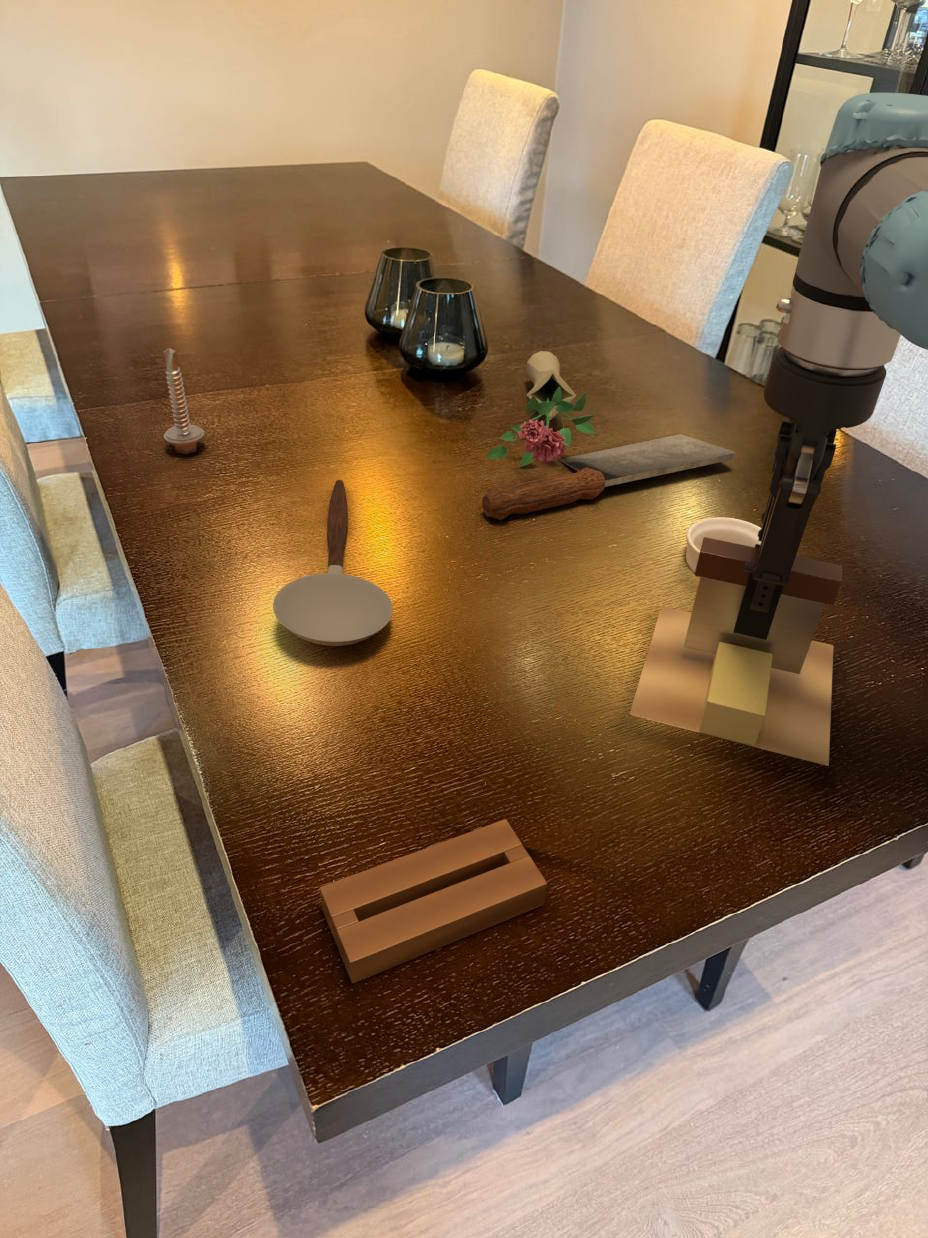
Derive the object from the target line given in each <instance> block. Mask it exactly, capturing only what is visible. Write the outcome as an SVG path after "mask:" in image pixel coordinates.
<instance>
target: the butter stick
mask: <svg viewBox="0 0 928 1238" xmlns="http://www.w3.org/2000/svg"><path fill="white" fill-rule="evenodd" d="M771 664H772V654H770V653H766V652H762V651H757V650H753V649H749V648H745V647H740V646H736V645H732V644H727V643H723V642H719V644H718V648H717V651H716V655H715V659H714V662H713V666H712V670H711V674H710V679H709V684H708V689H707V694H706V699H705V703H704V708H703V713H702V718H701V723H700V728H699V732H702V733H705V734H704V735H706V734H709V735H708V736H710V735H713V736H712V737H714V736H717V737H716V738H718V737H721V738H720V739H722V738H725V739H729V740H732V741H731V742H733V741H736V742H735V743H737V742H740V743H739V744H741V743H744V744H743V745H745V744H748V745H747V746H749V745H752V746H755V744H756V741H757V738H758V735H759V732H760V729H761V726H762V723H763V720H764V717H765V712H766V704H767V696H768V688H769V680H770V672H771ZM702 733H701V734H702ZM725 739H724V740H725ZM729 740H728V741H729ZM752 746H751V747H752Z"/></svg>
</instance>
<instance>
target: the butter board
mask: <svg viewBox="0 0 928 1238" xmlns="http://www.w3.org/2000/svg"><path fill="white" fill-rule="evenodd" d="M691 614H692V612H689V611H685V610H680V609H676V608H671V607H667V606H661V607H660V610H659V612H658V616H657V620H656V623H655V626H654V629H653V633H652V636H651V640H650V643H649V646H648V650H647V654H646V656H645V661H644V663H643V667H642V671H641V674H640V677H639V680H638V684H637V688H636V691H635V694H634V697H633V700H632V704H631V707H630V710H629V715H630V716H633V717H637V718H641V719H644V720H649V721H653V722H657V723H661V724H665V725H668V726H673V727H675V728H680V729H683V730H687V731H691V732H694V733H699V734H703V735H706V736H710V737H715V738H718V739H722V740H725V741H730V742H734V743H737V744H742V745H746V746H748V747H753V748H756V749H761V750H765V751H768V752H771V753H775V754H780V755H784V756H787V757H791V758H795V759H799V760H803V761H807V762H810V763H815V764H819V765H822V766H826V767H829V765H830V747H831V745H830V743H831V721H832V719H831V718H832V694H833V671H834V670H833V669H834V668H833V667H834V645H833V644H830V643H826V642H820V641H817V640H812V641H811V644H810V647H809V650H808V652H807V655H806V658H805V661H804V664H803V666H802V669H801V672H800V674H796V673H792V672H787V671H783V670H779V669H775V668H771V672H770V680H769V688H768V696H767V704H766V712H765V717H764V720H763V723H762V726H761V729H760V732H759V735H758V738H757V741H756V744H755V746H752V745H748V744H744V743H740V742H736V741H732V740H729V739H725V738H721V737H717V736H713V735H709V734H705V733H702V732H699V728H700V723H701V718H702V713H703V708H704V703H705V699H706V694H707V689H708V684H709V679H710V674H711V670H712V666H713V659H714V654H712V653H707V652H703V651H699V650H695V649H690V648H686V647H684V643H685V639H686V634H687V630H688V626H689V622H690V618H691Z"/></svg>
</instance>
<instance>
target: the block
mask: <svg viewBox="0 0 928 1238" xmlns="http://www.w3.org/2000/svg"><path fill="white" fill-rule="evenodd" d="M547 888H548V882H547V881H546V879H545V877H544V876H543V874H542V873H541V871H540V870H539V868H538V866H537V865H536V863H535V862H534V860H533V858H532V857H531V856H530V854H529V853H528V851H527V850H526V848H525V847H524V845H523V843H522V842H521V840H520V838H519V837H518V836H517V834H516V832H515V830H514V829H513V828H512V826H511V824H510V823H509V821H508V819H506V818H504V819H502V820H499V821H497V822H494V823H491V824H488V825H485V826H483V827H479V828H477V829H475V830H472V831H469V832H466V833H463V834H461V835H459V836H455V837H453V838H450V839H447V840H444V841H442V842H438V843H437V844H434V845H430V846H428V847H426V848H423V849H420V850H417V851H414V852H412V853H409V854H406V855H404V856H401V857H398V858H395V859H393V860H390V861H387V862H385V863H382V864H379V865H377V866H374V867H371V868H368V869H365V870H363V871H360V872H357V873H355V874H352V875H349V876H347V877H343V878H341V879H338V880H336V881H333V882H331V883H328V884H325V885H322V886H319V895H320V905H321V911H322V913H323V915H324V918H325V920H326V923H327V926H328V928H329V930H330V934H331V935H332V938H333V940H334V942H335V945H336V948H337V950H338V953H339V955H340V958H341V960H342V962H343V964H344V965H343V966H344V968H345V970H346V973H347V975H348V978H349V981H350V983H351V984H352V985H353V984H355V983H358V982H361V981H363V980H367V979H368V978H370V977H373V976H376V975H378V974H380V973H383V972H385V971H388V970H390V969H392V968H394V967H397V966H399V965H401V964H405V963H406V962H409V961H412V960H414V959H416V958H419V957H422V956H423V955H424V956H425V955H426V954H428V953H431V952H433V951H436V950H438V949H441V948H443V947H446V946H448V945H450V944H452V943H456V942H457V941H460V940H462V939H465V938H467V937H470V936H472V935H475V934H476V933H480V932H482V931H484V930H486V929H489V928H492V927H495V926H497V925H499V924H501V923H503V922H505V921H508V920H511V919H513V918H515V917H518V916H521V915H523V914H526V913H528V912H531V911H532V910H535V909H538V908H539V907H542V906H544V905H545V901H546V894H547Z"/></svg>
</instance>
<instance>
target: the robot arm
mask: <svg viewBox="0 0 928 1238" xmlns="http://www.w3.org/2000/svg"><path fill="white" fill-rule="evenodd" d="M819 166H820V170H819V174H818V177H817V183H816V187H815V190H814V193H813V198H812V202H811V207H810V210H809V213H808V218H807V222H806V226H805V230H804V234H803V237H802V238H803V239H802V242H801V246H800V250H799V254H798V259H797V263H796V266H795V270H794V271H795V272H794V275H793V277H792V286H791V288H790V297H780V298H779V299H778V300H777V302H776V307H775V309H776V310H777V312H778V313H779V312H780V313H783V314H785V315H784V317H783V320H782V323H781V327H780V331H779V334H778V343H779V345H780V347H778V348H776V350H775V351H774V352H773V355H772V359H771V363H770V365H769V366H770V367H769V370H768V374H767V379H766V382H765V386H764V390H763V399H764V402H765V403H766V405H767V407H769V409H770V410H771V411H772V412H774V413H775V414H777V415H779V416H780V417H782V418H786V419H788V420H784V419H781V422H780V425H779V430H778V433H777V438H776V446H775V450H774V451H775V452H774V459H773V464H772V469H771V471H772V475H771V479H770V482H769V494H768V497H767V501H766V505H765V509H764V512H762V514H761V517H760V520H761V524H762V525H761V527H760V528H761V529H760V531H759V532H758V538H759V539H758V541H761V544H760V545H759V544H756V545H755V548H759V551H758V555H757V558H756V562H755V563H754V562H749V561H745V565H744V569H743V572H748V573H750V574H749V577H748V581H747V585H746V588H745V592H744V595H743V599H742V602H741V606H740V609H739V613H738V616H737V620H736V623H735V627H734V632H733V633H738V634H742V635H746V636H751V637H755V638H759V639H764V640H767V637H768V634H769V631H770V627H771V624H772V621H773V618H774V615H775V612H776V608H777V605H778V602H779V599H780V596H781V593H782V589H783V586H786V585H787V583H788V582H789V580H790V576H789V575H790V572H791V569H792V566H793V563H794V560H795V557H796V556H797V554H798V551H799V548H800V545H801V542H802V540H803V536H804V533H805V530H806V527H807V524H808V522H809V518H810V516H811V512H812V509H813V507H814V505H815V502H816V500H817V499H818V497H819V495H820V494H821V491H822V483H823V480H824V476H825V474H826V471H827V470H828V469H830V468H831V466H832V463H833V460H834V457H835V453H836V449H837V444H836V443H835V440H836V437H837V432H838V429H843V428H846V429H850V428H855V427H858V426H860V425H863V424H864V423H866V422H867V421H869V420H870V418H872V416H873V415H874V412H875V409H876V405H877V403H878V400H879V397H880V394H881V392H882V389H883V385H884V383H885V380H886V377H887V374H888V373H887V369H886V367H885V365H886V364H888V363H890V362H892V360H893V358H894V356H895V353H896V350H897V347H898V344H899V341H900V339H901V336H902V337H903V338H904V339H906V341H907V342H909V343H910V344H913V345H915V346H917V347H919V348H921V349H924V350H928V95H924V94H916V93H915V94H914V93H904V92H903V93H902V92H866V93H859V94H857V95H854V96H852V97H850V98H847V100H846V101H845V102H843V104H842V105H841V106H840V107H839V109H838V111H837V113H836V117H835V119H834V122H833V125H832V128H831V131H830V134H829V138H828V141H827V144H826V147H825V149H824V152H822V154H821V156H820V159H819Z"/></svg>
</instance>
